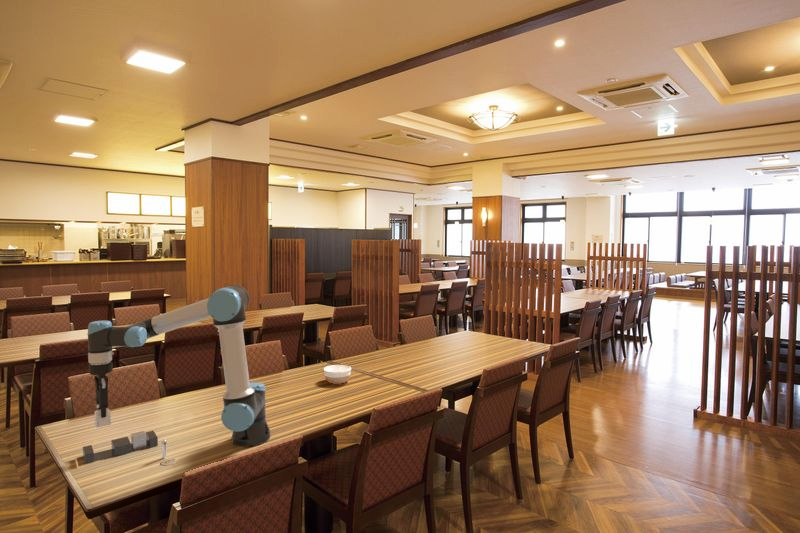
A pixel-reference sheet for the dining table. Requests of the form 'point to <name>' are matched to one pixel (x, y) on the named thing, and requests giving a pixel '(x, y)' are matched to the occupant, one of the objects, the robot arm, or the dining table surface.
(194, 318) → the robot arm
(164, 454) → the stand
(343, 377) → the bowl
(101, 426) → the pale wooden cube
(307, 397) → the dining table surface
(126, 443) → the rail
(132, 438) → the light grey cube
